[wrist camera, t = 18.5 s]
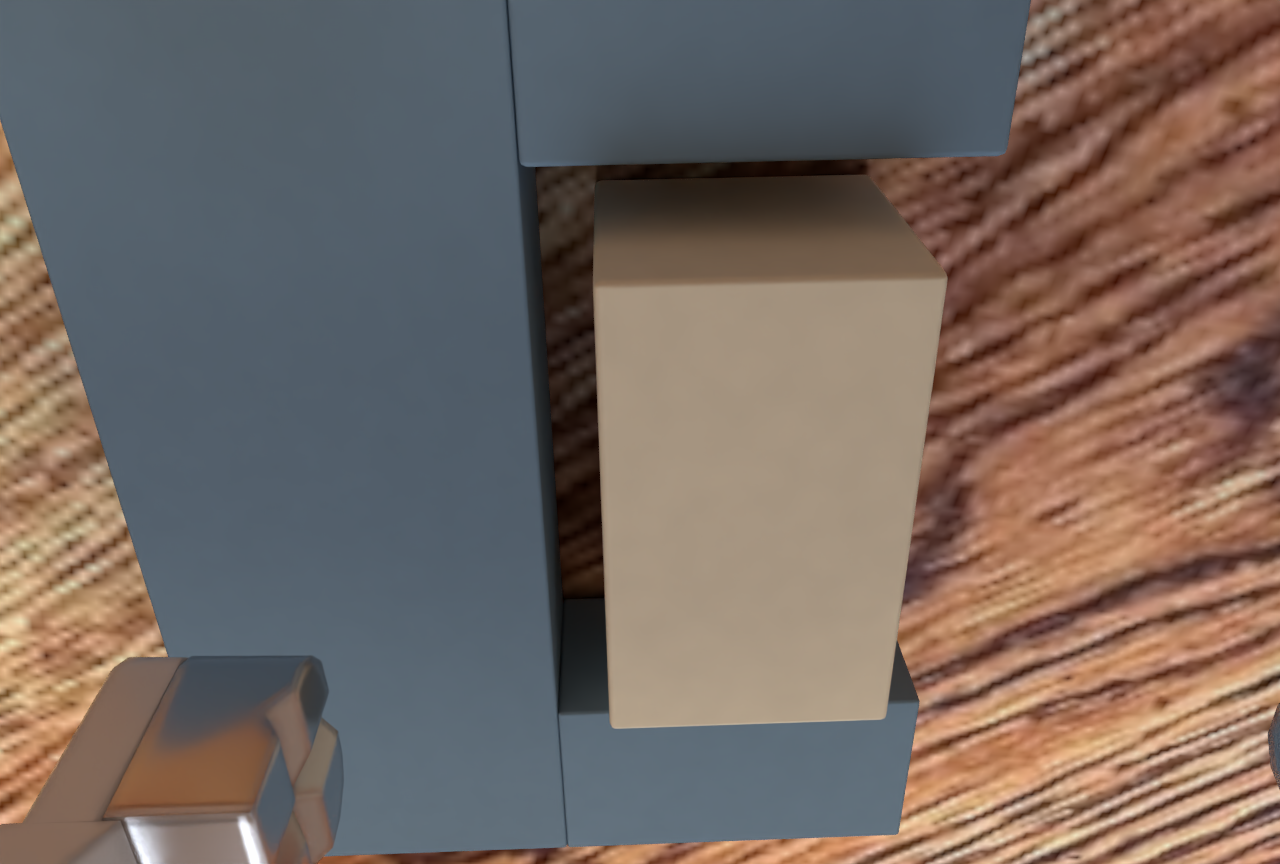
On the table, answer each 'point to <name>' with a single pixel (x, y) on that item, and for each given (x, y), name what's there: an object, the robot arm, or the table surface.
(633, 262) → the beige block
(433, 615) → the u-shaped bracket
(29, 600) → the table surface
